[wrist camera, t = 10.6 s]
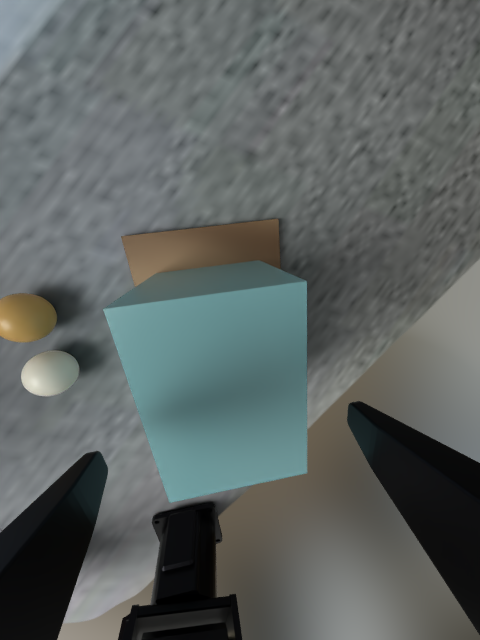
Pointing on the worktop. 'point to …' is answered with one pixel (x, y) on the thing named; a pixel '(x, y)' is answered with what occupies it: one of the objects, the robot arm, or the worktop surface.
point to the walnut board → (202, 248)
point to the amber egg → (26, 317)
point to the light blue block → (218, 374)
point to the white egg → (50, 373)
